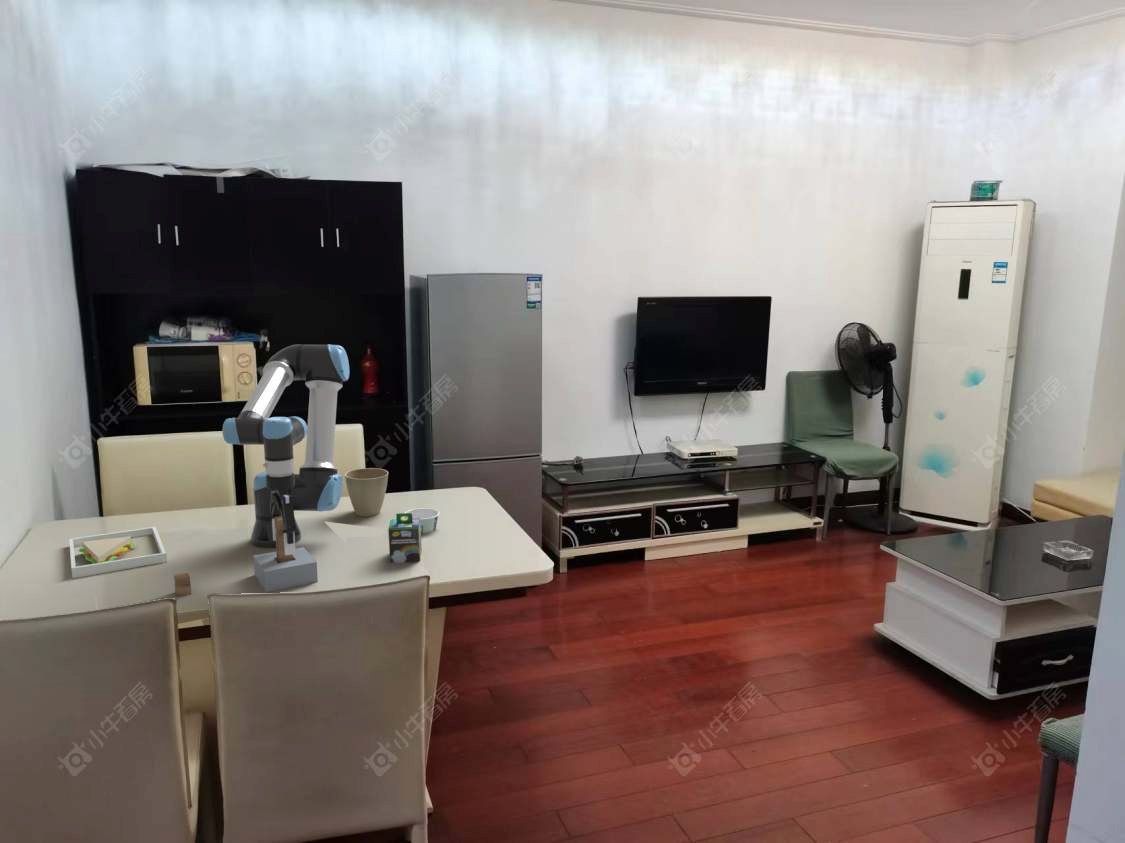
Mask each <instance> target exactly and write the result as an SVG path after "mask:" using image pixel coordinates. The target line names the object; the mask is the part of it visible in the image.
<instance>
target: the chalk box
mask: <svg viewBox="0 0 1125 843" xmlns="http://www.w3.org/2000/svg"><path fill="white" fill-rule="evenodd" d="M395 516H396V518H395V519H390V521H389V526H388V530H387V532H388V546H389V548H388V549H389V551H388V552H389V563H391V564H397V563H399V564H401V563H419V562H421V560H422V559H421V558H422V554H423V553H422V551H423V550H422V533H421V526H420V518H412V513H405V512H403V513H400V512H399V513H396V514H395ZM404 516H406V517H408V518H406V519H405V518H404ZM402 517H403V518H402Z"/></svg>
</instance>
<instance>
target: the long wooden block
mask: <svg viewBox="0 0 1125 843" xmlns="http://www.w3.org/2000/svg"><path fill="white" fill-rule="evenodd" d="M289 528H290V527H289ZM283 530H284V525H283V521H282V516H280V517H275V534H276V548H275V549H276V550H275V552H276V553H277V563H282V562H287V561H293V554H291V555H285V549H284V533H282V531H283Z"/></svg>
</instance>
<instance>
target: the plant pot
mask: <svg viewBox="0 0 1125 843" xmlns="http://www.w3.org/2000/svg"><path fill="white" fill-rule="evenodd" d="M344 479H345V485H346V489H347V491H348V496H349V500H350V503H351V505H352V508H353V510H354V513H355V515H356V516H358V517H363V518H364V517H374V516H376V515H379V514H380V513H381V510H382V508H383V507H382V506H383V504H384V500H385V496H386V491H387V487H388V481H389V480H388V479H389V471H388V470H386V469H383V468H375V467H370V468H369V467H368V468H367V467H366V468H364V467H363V468H356V469H352V470H348V471H346V472H345V473H344Z"/></svg>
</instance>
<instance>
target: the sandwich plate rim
mask: <svg viewBox="0 0 1125 843" xmlns="http://www.w3.org/2000/svg"><path fill="white" fill-rule="evenodd" d="M150 534H151V535H152V536H153V538H155V539H154V540H155V544H156V546H157V549H158V552H159V553H153V554H147V555H141V556H134V557H129V558H127V557H126V558H122V559H117V560H115V561H108V562H102V563H96V564H92V563H91V564H85V565H84V564H83V565H78V566H76V555H75V547H80V546H81V547H83V546H82V542H85V541H94V540H103V539H112V538H121V537H130V536H131V537H133V538H138V536H139V537H143V536H144V535H145V536H150ZM145 536H144V537H145ZM68 540H69V541H68V542H69V552H70V567H71V576H72V579H79V578H83V577H88V576H94V575H99V574H100V575H101V574H105V573H111V572H117V571H122V570H129V569H133V568H138V567H139V566H140V567H145V566H144V565H146V566H151V565H155V564H156V565H157V564H162V563H168V558H167V552H166V549H165V547H164V545H163V542H162V540H161V536H160V534H159V532H158V529H157V528H156V526H150V527H142V528H136V529H130V530H123V531H115V532H109V533H102V534H101V533H100V534H94V535H88V536H87V535H86V536H80V537H79V536H78V537H73V538H69V539H68ZM150 564H151V565H150Z"/></svg>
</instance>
